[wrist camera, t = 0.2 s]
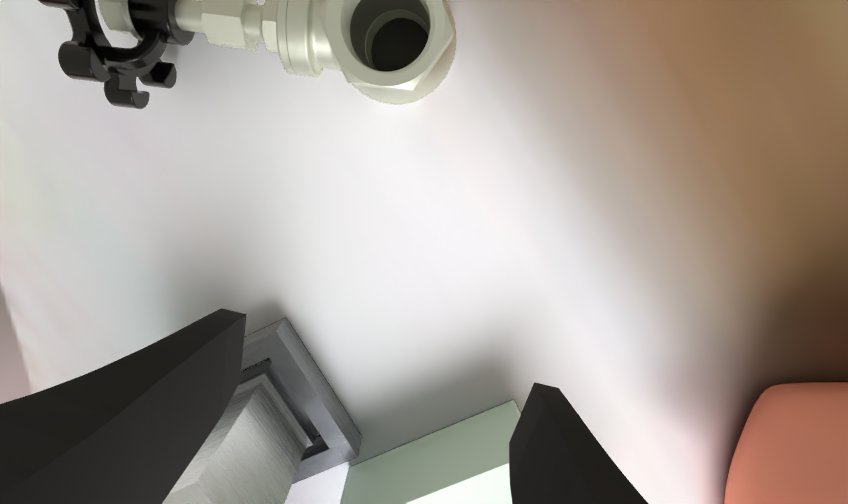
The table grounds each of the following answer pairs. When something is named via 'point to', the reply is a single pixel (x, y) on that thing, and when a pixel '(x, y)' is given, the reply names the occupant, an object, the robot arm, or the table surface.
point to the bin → (442, 465)
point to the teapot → (793, 447)
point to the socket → (306, 396)
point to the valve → (255, 41)
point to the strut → (250, 446)
